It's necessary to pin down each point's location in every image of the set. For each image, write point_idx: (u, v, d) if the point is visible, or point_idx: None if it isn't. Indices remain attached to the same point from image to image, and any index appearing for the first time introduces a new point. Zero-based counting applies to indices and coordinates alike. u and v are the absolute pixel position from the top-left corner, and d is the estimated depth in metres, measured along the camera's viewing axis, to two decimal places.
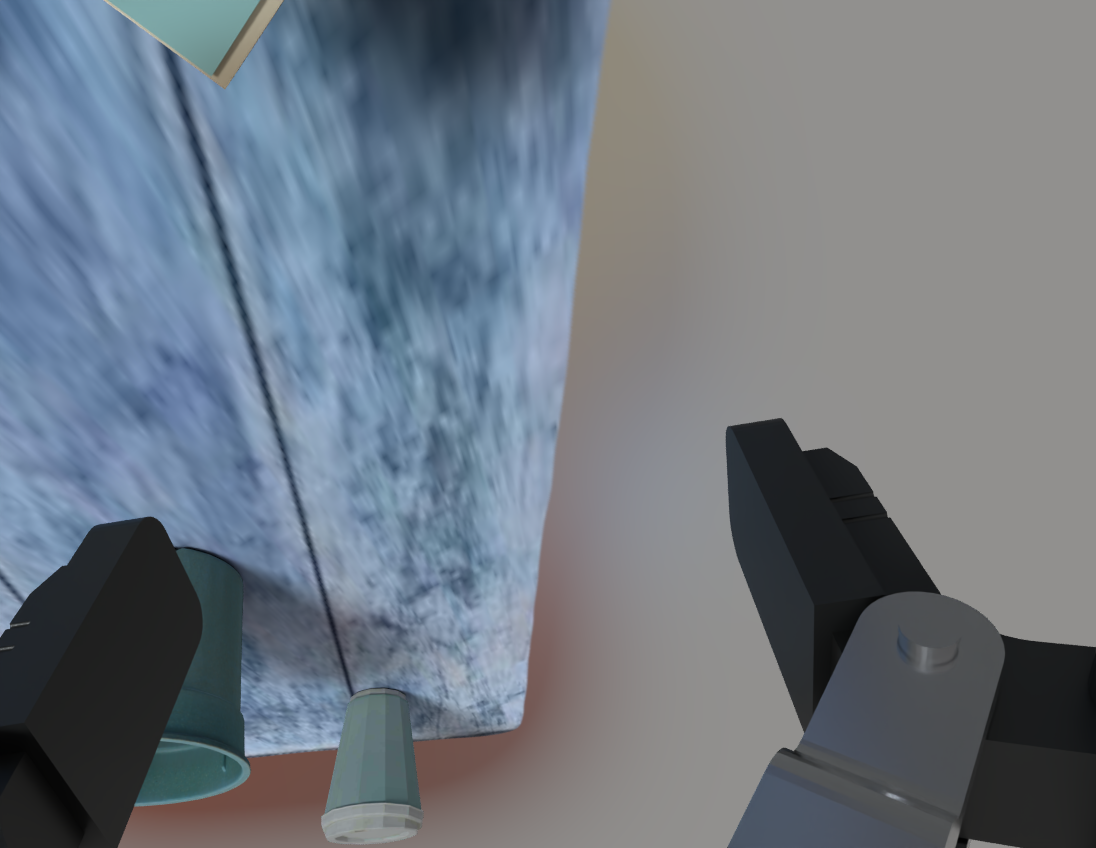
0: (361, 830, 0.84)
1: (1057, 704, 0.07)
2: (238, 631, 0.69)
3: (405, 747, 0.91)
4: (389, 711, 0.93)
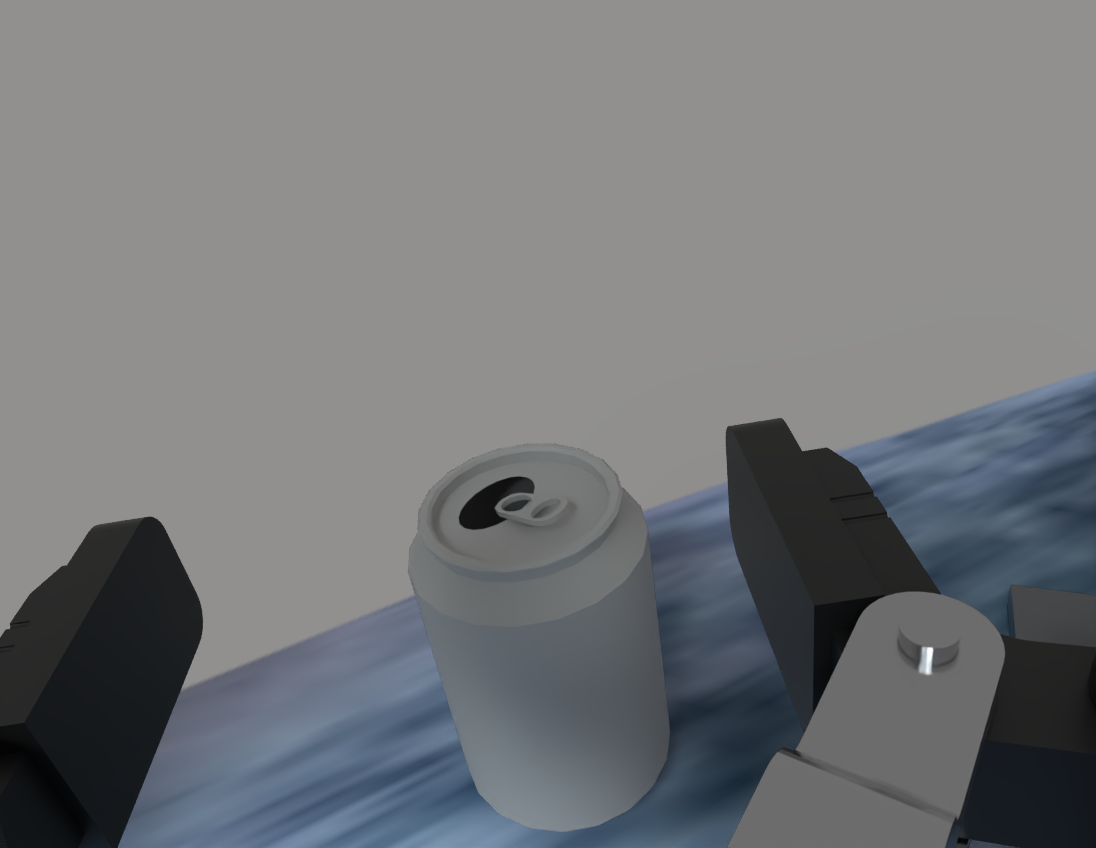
0: None
1: (1057, 704, 0.07)
2: None
3: None
4: None
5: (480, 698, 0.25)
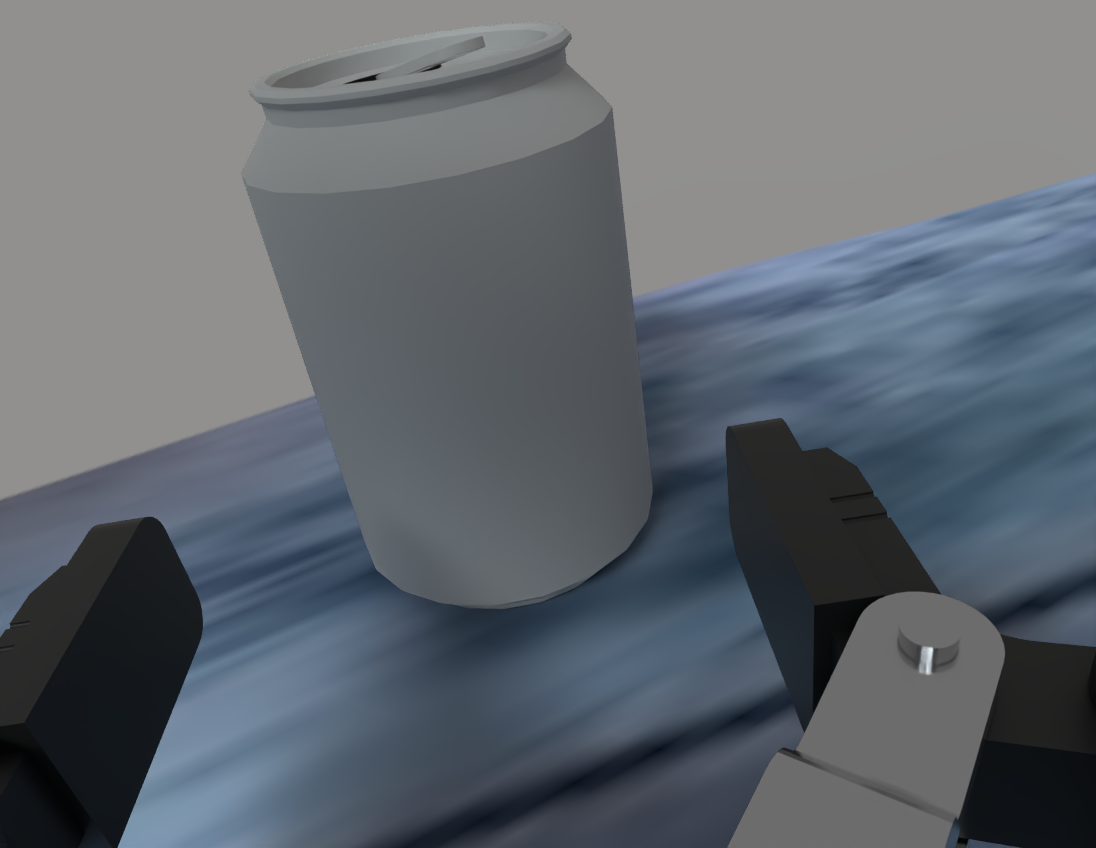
0: None
1: (1057, 703, 0.07)
2: None
3: None
4: None
5: (351, 361, 0.16)
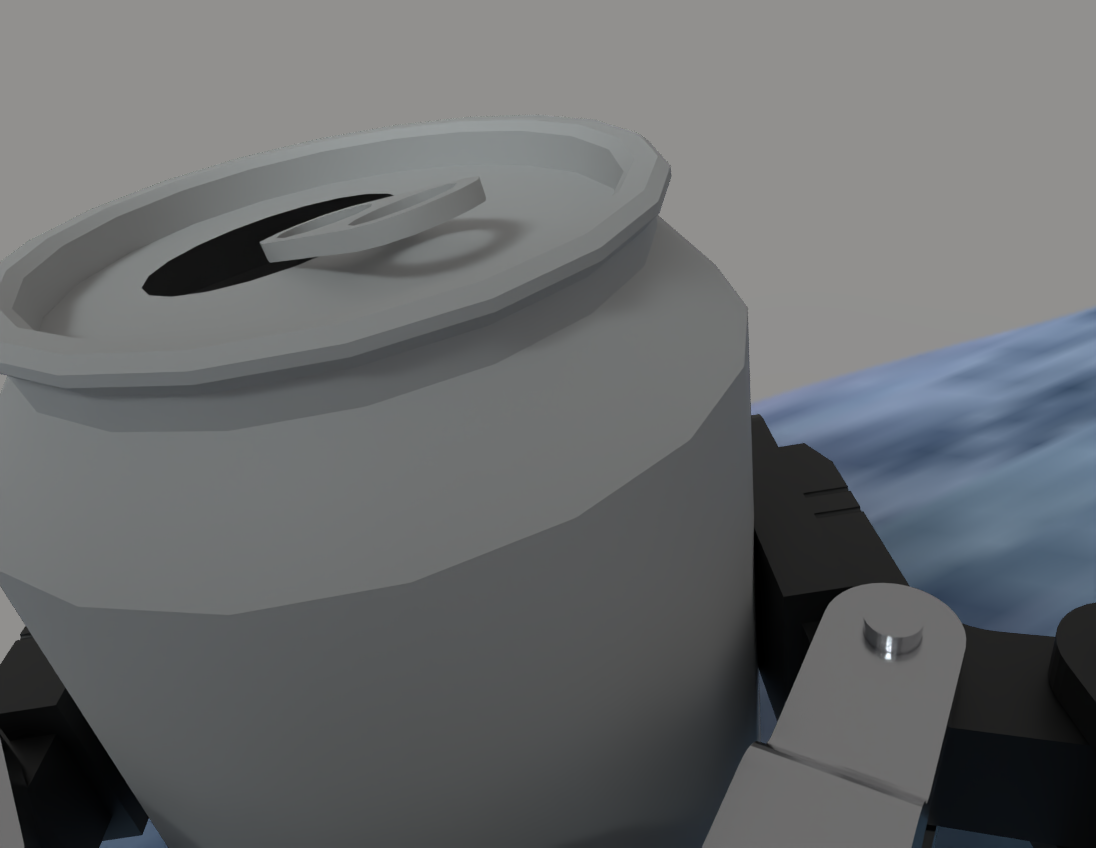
0: None
1: (1018, 692, 0.07)
2: None
3: None
4: None
5: None
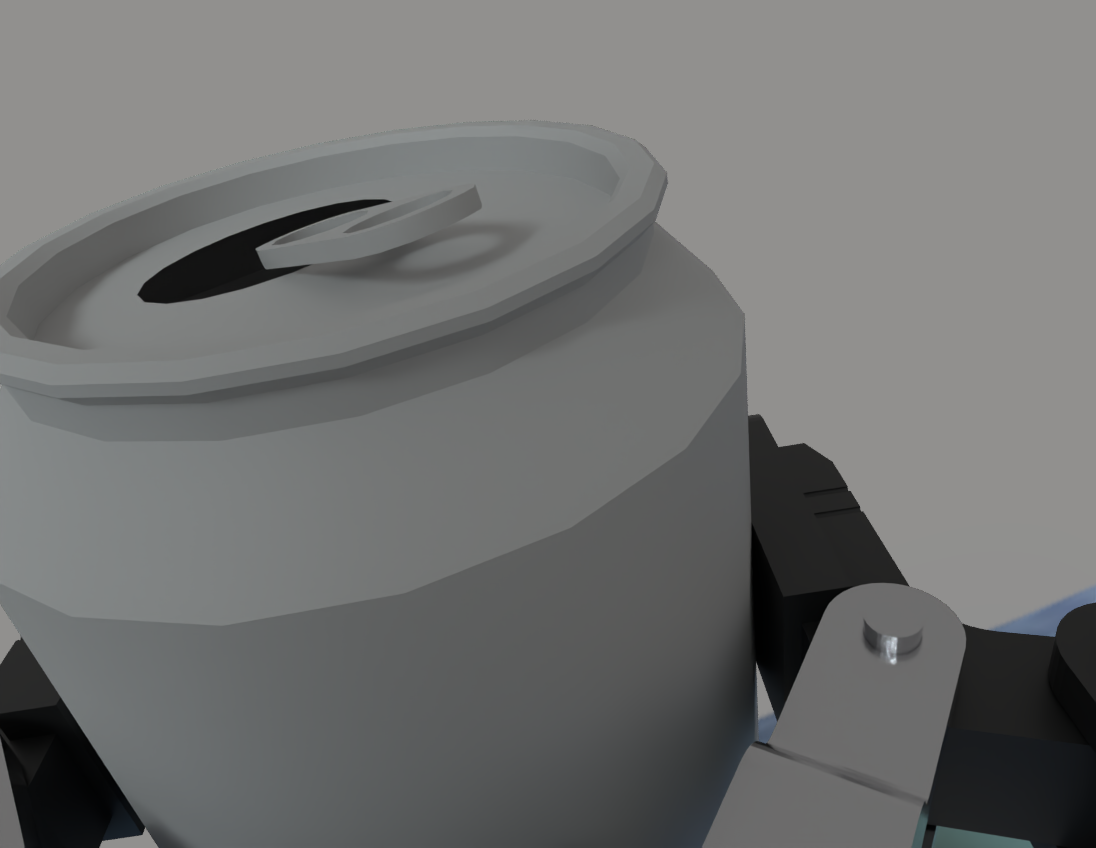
0: None
1: (1017, 692, 0.07)
2: None
3: None
4: None
5: None
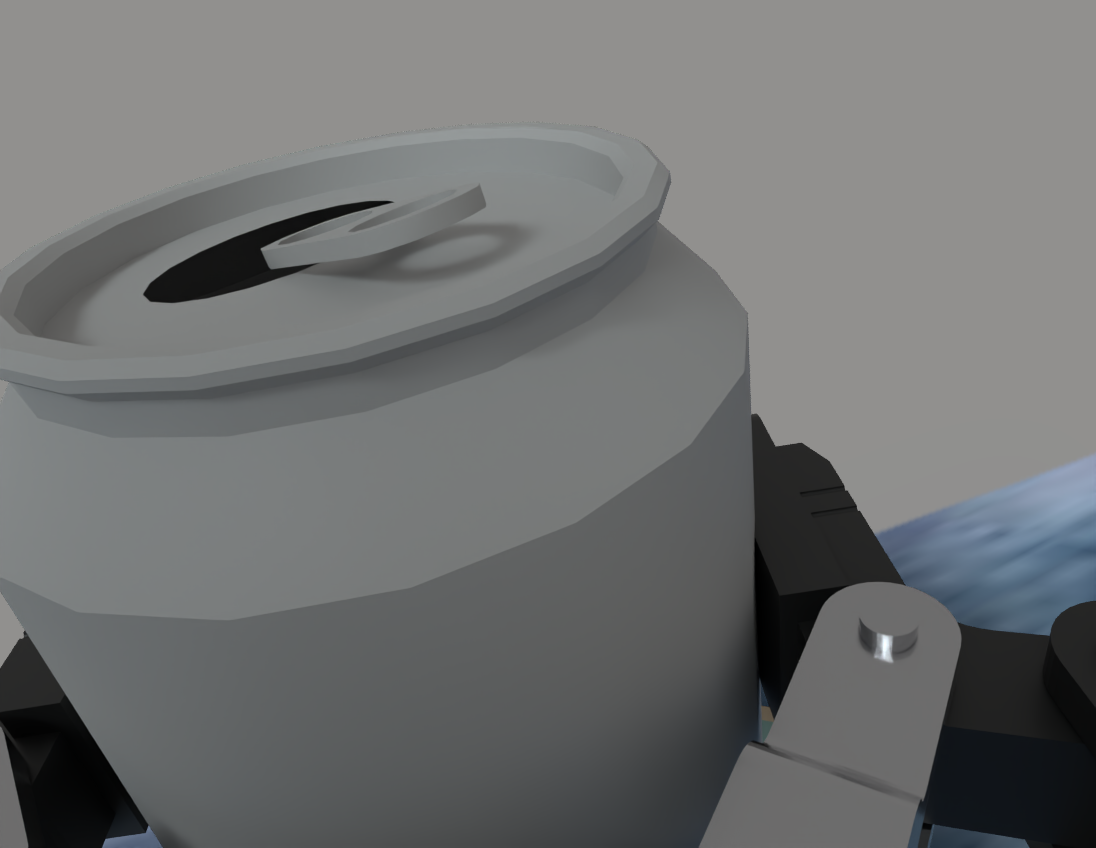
0: None
1: (1013, 691, 0.08)
2: None
3: None
4: None
5: None
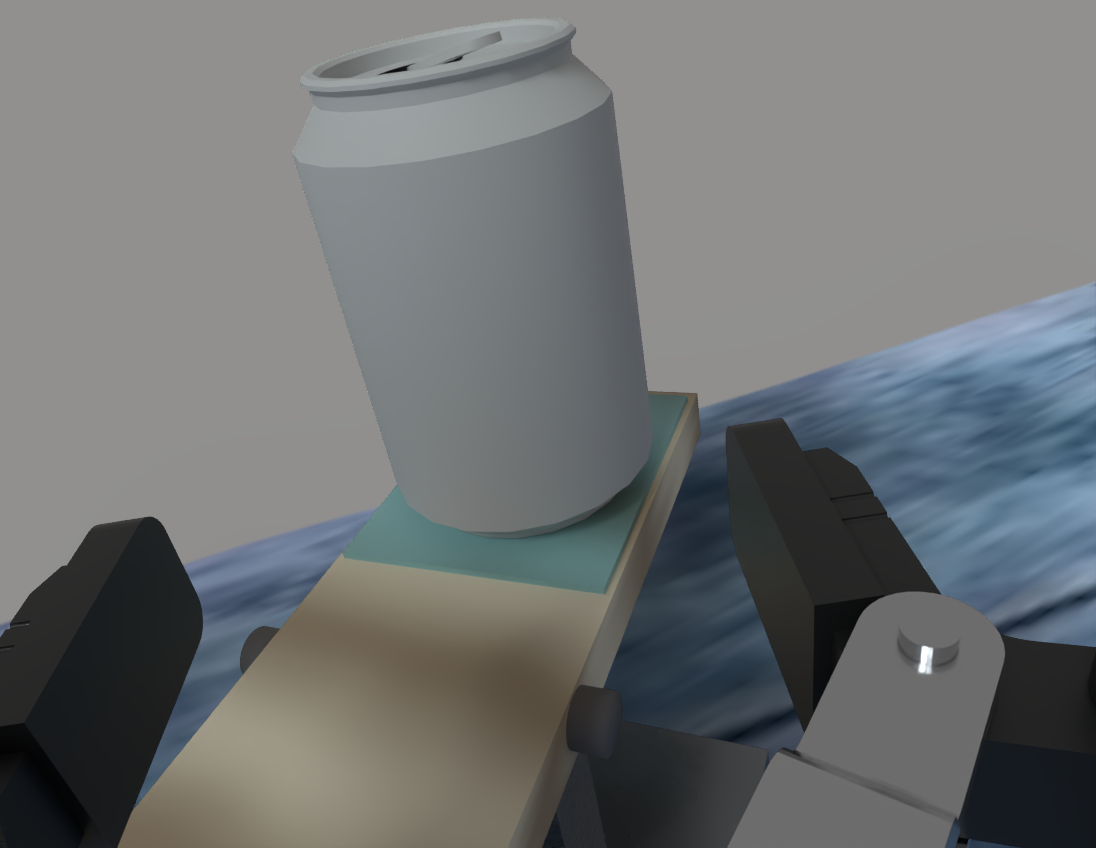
0: None
1: (1057, 704, 0.07)
2: None
3: None
4: None
5: (389, 313, 0.19)
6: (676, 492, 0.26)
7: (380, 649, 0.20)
